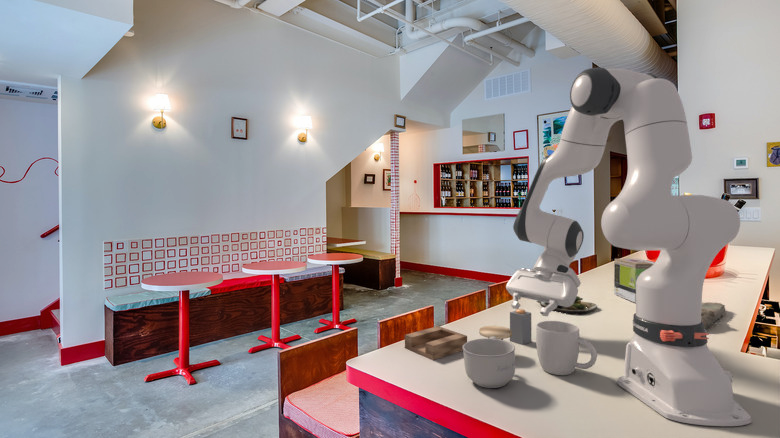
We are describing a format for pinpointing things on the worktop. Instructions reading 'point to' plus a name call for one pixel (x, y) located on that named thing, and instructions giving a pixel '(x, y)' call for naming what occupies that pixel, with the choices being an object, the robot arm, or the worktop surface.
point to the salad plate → (573, 307)
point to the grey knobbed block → (520, 326)
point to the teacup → (489, 361)
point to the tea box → (628, 276)
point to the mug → (561, 347)
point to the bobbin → (495, 332)
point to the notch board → (435, 342)
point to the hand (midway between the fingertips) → (528, 311)
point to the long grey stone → (711, 313)
